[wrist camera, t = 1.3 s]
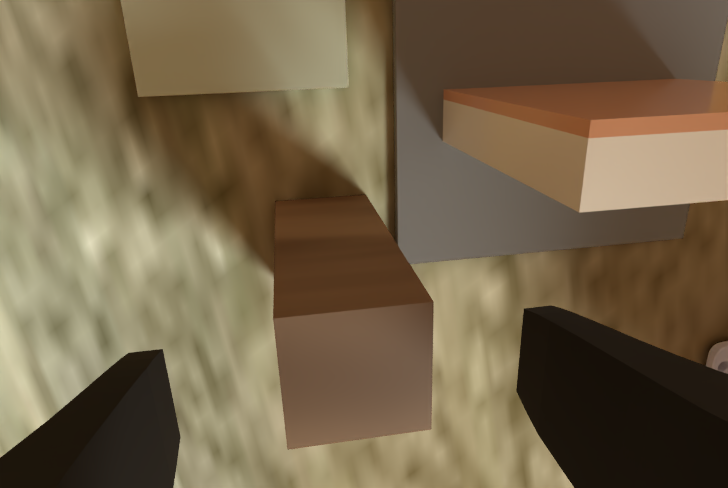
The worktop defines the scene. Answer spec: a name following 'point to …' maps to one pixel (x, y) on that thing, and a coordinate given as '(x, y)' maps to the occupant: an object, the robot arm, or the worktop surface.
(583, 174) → the tile
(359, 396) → the block
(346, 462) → the worktop surface
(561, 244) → the mat
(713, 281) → the worktop surface
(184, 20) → the board
